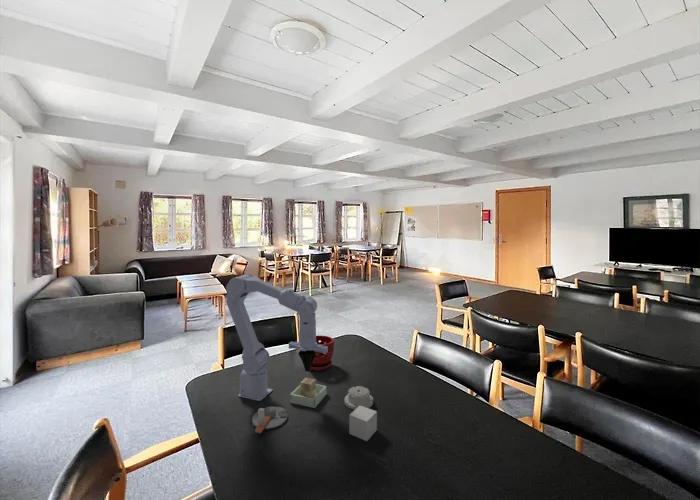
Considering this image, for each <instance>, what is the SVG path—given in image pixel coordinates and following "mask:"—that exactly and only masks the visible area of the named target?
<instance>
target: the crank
mask: <svg viewBox="0 0 700 500" xmlns="http://www.w3.org/2000/svg"><path fill="white" fill-rule="evenodd" d="M267 407H268V408H266V407H265V408H266V409H265V410H264V409H263V407H260V408H258V410H257V411H258V426H257V427H255V429H254V432H255V434H261V433H263V431H264V430H263V429H264V428H265V426H266V425H267V423H268V422H269V420H270V419H272V418H274V417H275V416H276V409H275V408H274V407H273V406H267Z"/></svg>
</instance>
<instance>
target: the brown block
mask: <svg viewBox="0 0 700 500" xmlns="http://www.w3.org/2000/svg"><path fill="white" fill-rule="evenodd" d="M316 384H317V383H316V379H315V378H310V377H305V378H303V379H302V381H301V382H300V383H299V385H300V396H305V397H310V398H314V397H315V396H316Z"/></svg>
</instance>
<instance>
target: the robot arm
mask: <svg viewBox="0 0 700 500" xmlns="http://www.w3.org/2000/svg"><path fill="white" fill-rule="evenodd" d="M225 290H226V305H227V308H228V310H229V313H230V315H231V316H230V317H231V319H232V321H233V324H234V326H235V329H236V332H237V335H238V338H239V340H240V343H241V346H242V349H243V350H242V354H241V359H242V370H241V373H240V375H239V380H238V381H239V394H238V398H239V397H240V398H244V399H248V400H252V401H257V402H260V401H262V400H263V399H264V398H265V397H267V396H268V395H269V394H271V392H273V388H268V367H267V366H268V363H269V361H270V353H269V351H268V350H267V349H266V348H265V346H264V344H263V343H261V342H260V341H259V339H258V337H257V335H256V332H255V329H254V326H253V323H252V322H251V319H250V316H249V314H248V310H247V307H246V305H245V303H244V302H245V299H246V298H247V296H248V294H250V293H255V292H258V293H261V294H263V295H266V296H267V297H270V298H273V299H276V300H277V301H278V303H279V305H282V306H283V307H286V308H287V309H290V310H292V311H294V312H296V313H297V315H298V316H299V320H298V321H299V323H298V325H299V341H290V342H288V349H289V350H292V349H295V350H299V351H298V353H297V354H298V356H299V358H300V359H301V362H302V364H303V367H304V371H305V372H310V371H312V370H311V367H312V363H313V360H314V357H315V355H316V353H317V352H321V353H323V354H326V353H327V352H328V347H327V346H323V345H321V344H317V343H316V336H317V322H316V311H317V309H318V303H317V301H316V300H315V298H313V297H311V296H307V297H306V295H304V294H303V295H302V294H299V293H296V292H295V291H294V289H292V288H290V289H284V290H281V289H279V288H278V287H276V286H274V285H272V284H271V283H268V282H266V281H264V280H263V279H261V278H260V277H258V276H255V275H252V274H251V273H245V274H243V275H240V276H236V277H232V278H230V280H229V281H228V283H227V284H226V286H225Z"/></svg>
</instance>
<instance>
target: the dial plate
mask: <svg viewBox="0 0 700 500" xmlns="http://www.w3.org/2000/svg"><path fill="white" fill-rule="evenodd" d="M268 407H269V406H267V407H264V408H263V407H262V408H263V409H264V410H265V409H266V408H268ZM272 407H274V408H275V409H276V416H275V417H274V418H272V419H270V420H269V422H268V423H267V425H266V426H265V428H264V429H263V431H265V430H266V431H267V430H273V429H276V428H279V427H281V426H283V425H284V424H285V423H286V421H288V416H289V415H288V411H287V409H285V408H284V407H280V406H272ZM251 422H252V426H253V427H255V428H256V427H257V426H258V410H257V411H256V412H255V413H254V414H253V416H252V418H251Z"/></svg>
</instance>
